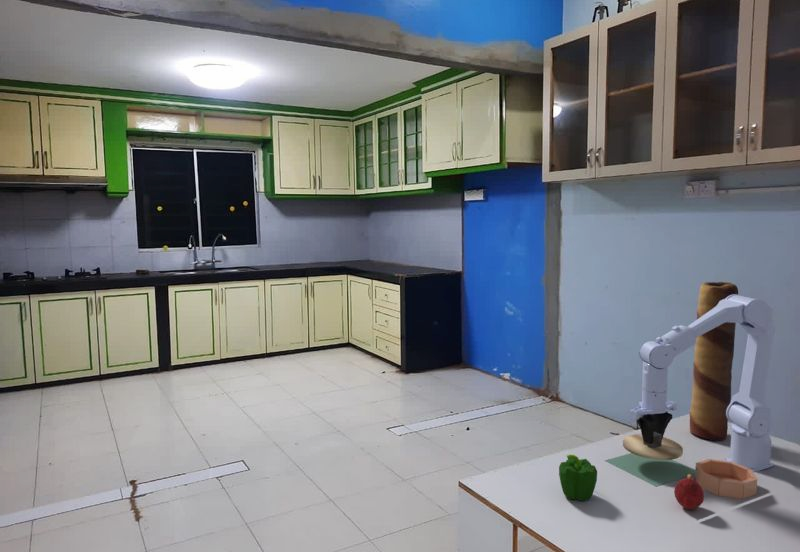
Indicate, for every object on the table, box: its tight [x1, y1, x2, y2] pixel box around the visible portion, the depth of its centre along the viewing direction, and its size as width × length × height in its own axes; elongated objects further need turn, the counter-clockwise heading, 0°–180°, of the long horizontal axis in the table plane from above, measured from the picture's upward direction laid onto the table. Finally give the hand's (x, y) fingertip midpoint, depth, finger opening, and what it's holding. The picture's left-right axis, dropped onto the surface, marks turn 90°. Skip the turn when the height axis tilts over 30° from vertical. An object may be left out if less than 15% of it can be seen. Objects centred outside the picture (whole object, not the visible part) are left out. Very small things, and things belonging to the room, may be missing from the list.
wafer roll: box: [689, 281, 739, 441], centre depth 163 cm, size 10×11×45 cm
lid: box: [622, 432, 684, 460], centre depth 144 cm, size 14×14×4 cm
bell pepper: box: [558, 454, 598, 502], centre depth 130 cm, size 8×8×10 cm
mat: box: [604, 452, 695, 488], centre depth 145 cm, size 16×16×1 cm
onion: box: [673, 474, 705, 511], centre depth 124 cm, size 6×6×8 cm
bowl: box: [694, 458, 758, 499], centre depth 134 cm, size 12×12×4 cm
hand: (652, 441), depth 144 cm, fingers closed on lid, 3 cm apart
